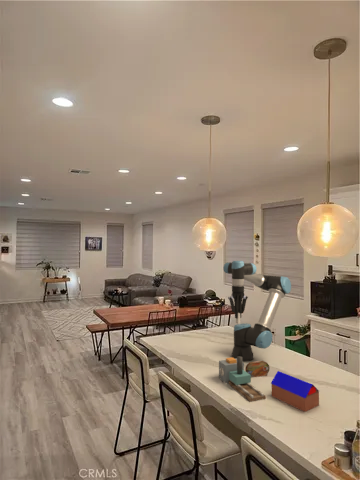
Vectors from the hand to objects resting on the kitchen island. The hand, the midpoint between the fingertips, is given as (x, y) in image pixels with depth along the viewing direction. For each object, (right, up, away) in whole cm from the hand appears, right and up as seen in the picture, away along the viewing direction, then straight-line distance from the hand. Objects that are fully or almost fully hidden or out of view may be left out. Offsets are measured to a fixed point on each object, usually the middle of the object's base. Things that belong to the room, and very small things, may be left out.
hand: (238, 323), depth 196 cm
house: (+21, -29, -38) cm, 52 cm away
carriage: (-3, -26, -21) cm, 34 cm away
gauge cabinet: (-6, -29, -13) cm, 32 cm away
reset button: (-6, -21, -12) cm, 25 cm away
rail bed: (-1, -29, -28) cm, 40 cm away
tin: (+10, -30, -8) cm, 32 cm away
